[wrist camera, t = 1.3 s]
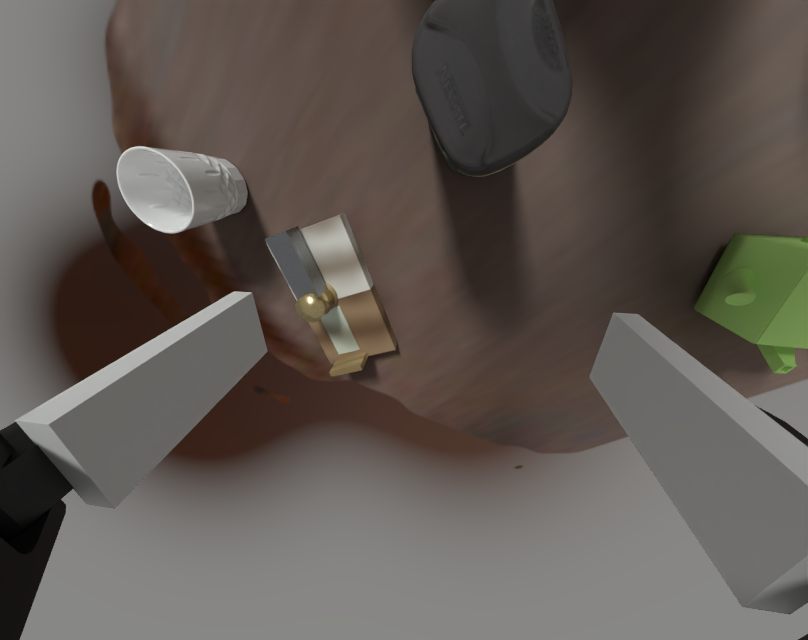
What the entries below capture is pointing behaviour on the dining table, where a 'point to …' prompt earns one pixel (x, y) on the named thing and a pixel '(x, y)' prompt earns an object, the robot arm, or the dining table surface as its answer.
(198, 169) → the white cup
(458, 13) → the coffee jar
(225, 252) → the dining table surface
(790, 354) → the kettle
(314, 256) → the door board
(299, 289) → the latch bar
